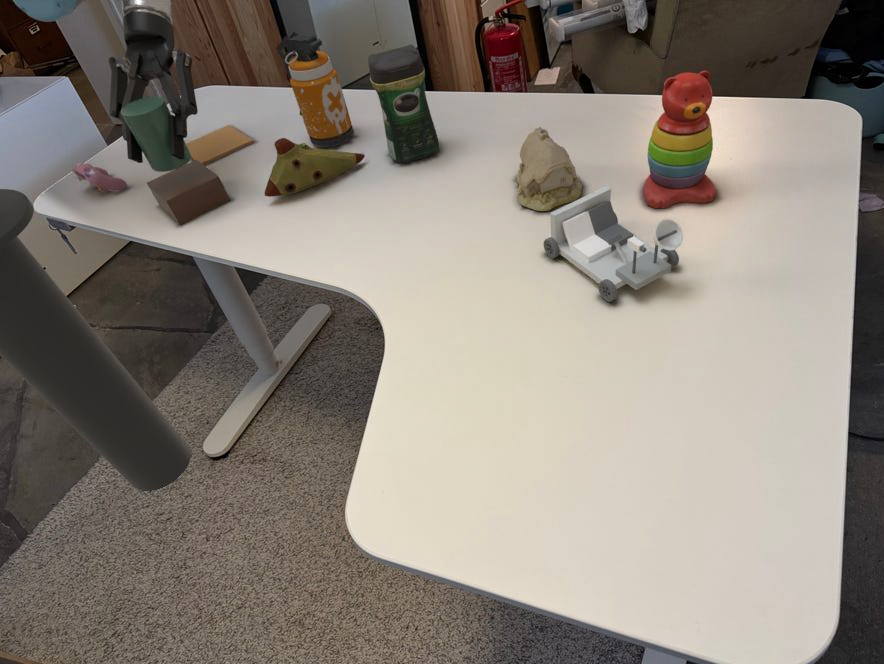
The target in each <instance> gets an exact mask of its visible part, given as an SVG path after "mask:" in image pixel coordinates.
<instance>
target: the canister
mask: <svg viewBox="0 0 884 664" xmlns="http://www.w3.org/2000/svg"><path fill="white" fill-rule="evenodd" d="M322 45H323V41H322V40H321V39H319V38H318V39H317V36H316V35H314V34H312V35H305V34H298V33H297V32H296V31H293V32H292V33H291V34H290V36H289V37H288V36H287V35H285V36H284V37H283V38H282V40H281V41H280V42H279V44H278V45H277V46H276V48H275V50H276V51H277V54H278V55H279V57H280V58H281V60H282V63H283V65H284V69H285V72H286V75H287V77H288V80H289V83H290V85H291V88H292V92H293V94H294V98H295V100H296V103H297V107H298V109H299V116H301V118H302V121H303V123H304V126H305V129H306V132H307V134H308V137H309V141H310V143H311V144H312V145H314V146H316V147H321V148H329V147H335V146H338V145H339V146H340V144H343V143H345V142H346V141H348V140H349V139H351V138H352V137H353V135H354V133H355V131H354V126H353V124H352V120H351V117H350V113H349V109H348V106H347V102H346V99H345V97H344V92H343V89H342V86H341V81H340V78H339V74H338V72H337V69H336V68H335V67H333V65H332V61H331V58H330V56H328V54H327V53H326V52H325V51H322V50H319V48H320V47H321V46H322ZM284 49H286V50H287V51H286V53H283V51H284Z"/></svg>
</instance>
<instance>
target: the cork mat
mask: <svg viewBox="0 0 884 664" xmlns="http://www.w3.org/2000/svg"><path fill="white" fill-rule="evenodd" d="M185 143H186V145H187V147H188V149H189V151H190V153H191V155H192V158H191V160H193V161H195V160H198V161H199V162H200V163H202V164H203V165H204V166H206V165H208V164H210V163H212V162H214V161H217V160H218V159H220V158H223V157H225V156H227V155H229V154H232V153H234V152H236V151H238V150H240V149H242V148H245V147H247V146H249V145H252V144H253V143H254V140H253V139H252V138H250V137H249V136H248V135H246V134H244V133H242V132H241V131H240V130H238V129H236V128H235V127H233V126H231V125H230V124H227V125H224V126H223V127H220V128H218V129H215V130H213V131H211V132H209V133H207V134H204V135H202V136H200V137H197V138H195V139H193V140H191V141H188V142H185Z"/></svg>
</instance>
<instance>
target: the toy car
mask: <svg viewBox="0 0 884 664" xmlns="http://www.w3.org/2000/svg"><path fill="white" fill-rule="evenodd" d="M611 195H612V189H611V187H609V186H607V185H606V186H603V187H601V188H600V189H597V190H594V191H593V192H591V193H589V194H586V195H585V196H582V197H580V198H577V199H576V200H574V201H571V202H569V203H567V204H566V205H564V206H562V207H559V208H558V209H556V210H554V211H552V212H550V213H549V217H550V218H549V219H550V237H547V238H545V239H544V240H543V249H544V251H545V254H546V255H547V256H548V257H549V258H550V259H556V258H558V257H559V256H562V257H563V258H564V259H565V260H567V261H568V262H569V263H571V264H572V265H573V266H574V267H576V268H578V269H579V270H580V271H581V272H582V273H584V274H585V275H586V276H588V277H589V278H590V279H592V280H593V281H594V282H596V283H597V284H598V291H599V294H600V296H601V298H602V299H604V300H605V301H606V302H608V303H611V302H613V301H615V300H616V299H618V289H621V288H622V287H623V286H626V285H628V286H629V287H630V288H632V289H634V290H635V291H638V290H639V289H641V288H643V287H645V286H647V285H648V284H650V283H652V282H654V281H656V280H658V279H659V278H661V277H663V276H665V275H666V274H668V273H670V272H671V271H672V269H674V268H675V267H677V266H678V265H679V263H680V256H679V254H678V252H677V249H678V248H680V246H681V245H682V243H683V241H684V233H683V230H682V228H681V226H680V224H679V223H678V222H677V221H675V220H674V219H671V218H664V219H661V220H660V221H659V222H658V223H657V224H656V226H655V228H654V231H653V235H652V240H653V243H654V246H653V245H652V244H650V243H649V242H647V241H645V240H644V239H642V238H641V237H640V236H638V235H636V234H635V233H633V232H632V231H630V230H628V229H627V228H625V227H624V226H622V225H620V224H619V219H618V216H617V214H616V212H615V211H614V208H613V204H612V201H611V199H612V197H611ZM659 248H661V249H660V250H659Z"/></svg>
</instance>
